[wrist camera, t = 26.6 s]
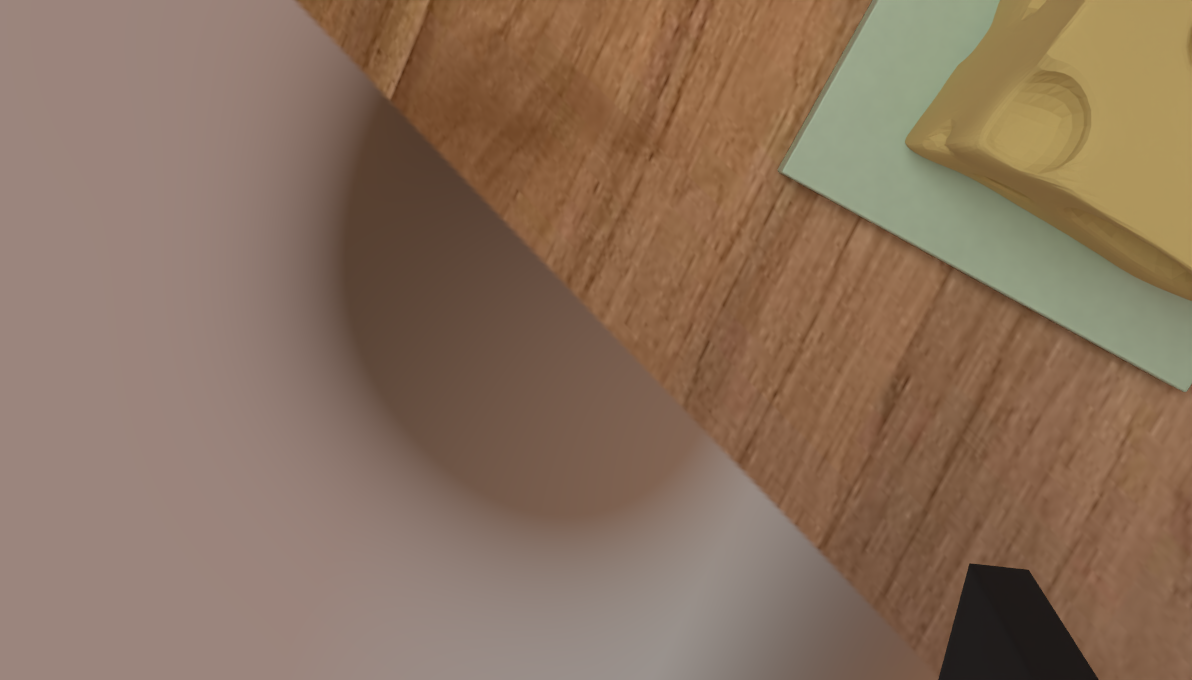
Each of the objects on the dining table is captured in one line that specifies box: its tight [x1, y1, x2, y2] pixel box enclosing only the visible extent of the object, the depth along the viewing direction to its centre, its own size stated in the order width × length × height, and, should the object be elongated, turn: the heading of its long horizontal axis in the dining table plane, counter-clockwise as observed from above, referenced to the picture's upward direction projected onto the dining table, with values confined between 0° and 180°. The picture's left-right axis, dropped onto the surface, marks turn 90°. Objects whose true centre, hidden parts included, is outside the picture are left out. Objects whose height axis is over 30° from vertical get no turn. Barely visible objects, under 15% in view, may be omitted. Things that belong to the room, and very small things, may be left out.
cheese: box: [905, 0, 1192, 301], centre depth 35 cm, size 10×11×10 cm
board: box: [778, 0, 1192, 392], centre depth 41 cm, size 18×14×2 cm
